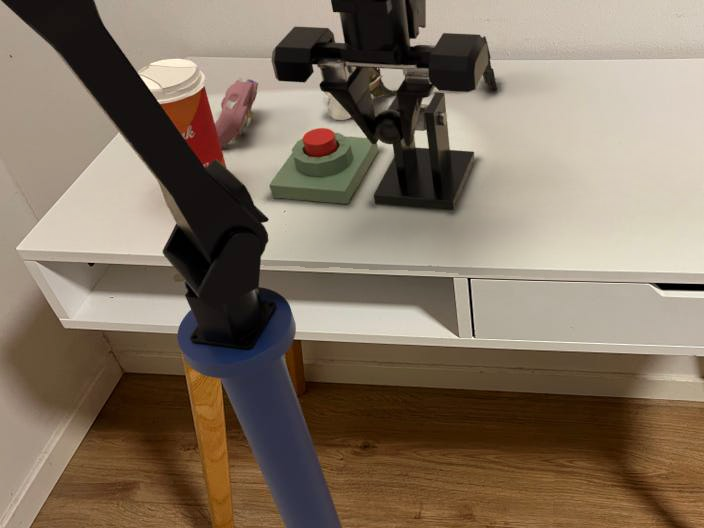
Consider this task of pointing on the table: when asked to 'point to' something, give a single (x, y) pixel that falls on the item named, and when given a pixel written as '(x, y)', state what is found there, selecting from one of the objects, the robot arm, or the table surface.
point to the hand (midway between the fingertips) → (392, 143)
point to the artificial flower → (380, 90)
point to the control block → (325, 172)
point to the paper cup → (185, 104)
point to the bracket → (426, 166)
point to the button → (320, 142)
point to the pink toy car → (236, 110)
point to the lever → (395, 125)
